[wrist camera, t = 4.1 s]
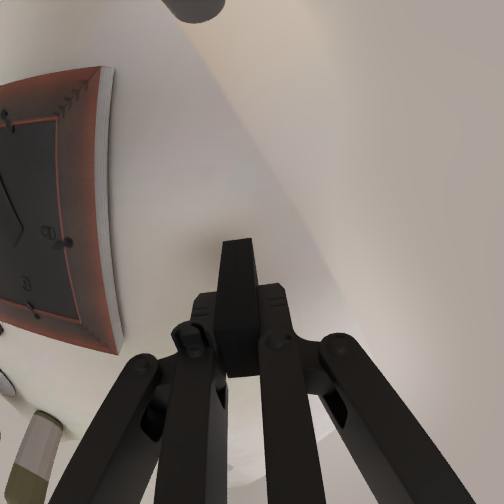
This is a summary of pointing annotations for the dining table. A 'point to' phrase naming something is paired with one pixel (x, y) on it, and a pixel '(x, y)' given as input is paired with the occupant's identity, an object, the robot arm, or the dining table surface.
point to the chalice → (6, 387)
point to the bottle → (34, 461)
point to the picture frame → (57, 208)
